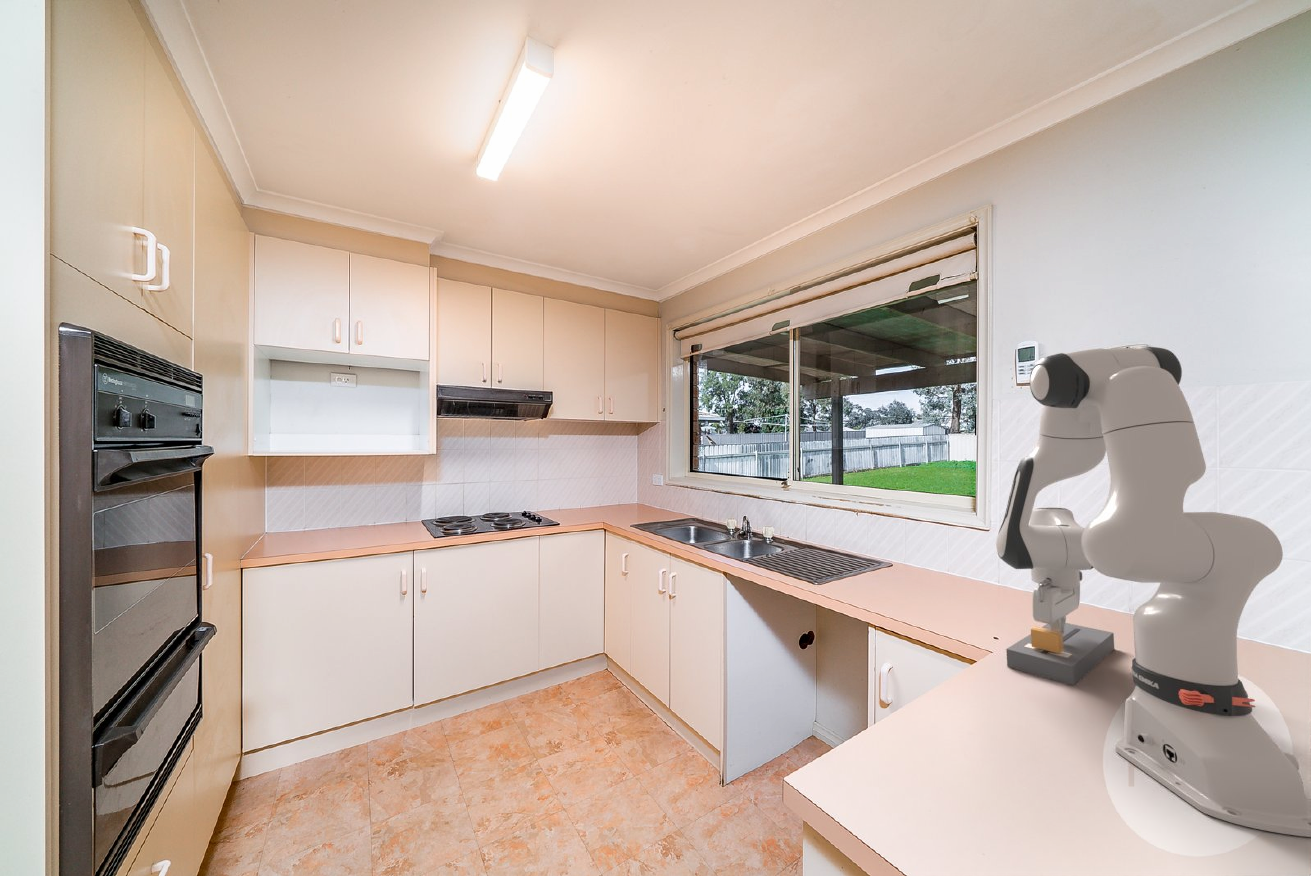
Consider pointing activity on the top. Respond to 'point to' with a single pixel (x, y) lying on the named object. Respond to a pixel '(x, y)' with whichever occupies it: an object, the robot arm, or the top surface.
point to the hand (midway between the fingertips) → (1058, 634)
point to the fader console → (1063, 654)
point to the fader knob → (1047, 639)
